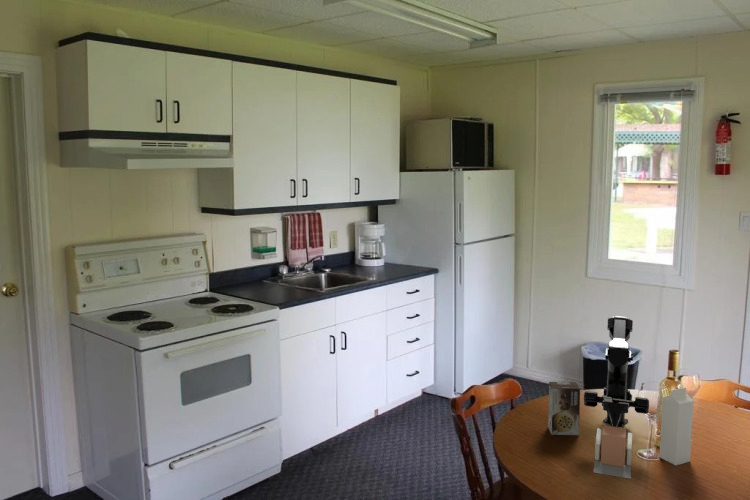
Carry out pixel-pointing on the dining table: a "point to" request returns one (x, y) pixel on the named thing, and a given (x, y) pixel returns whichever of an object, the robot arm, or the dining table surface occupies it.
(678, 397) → the milk
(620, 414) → the robot arm
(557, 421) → the coffee box
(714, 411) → the dining table surface
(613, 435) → the block
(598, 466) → the chute
